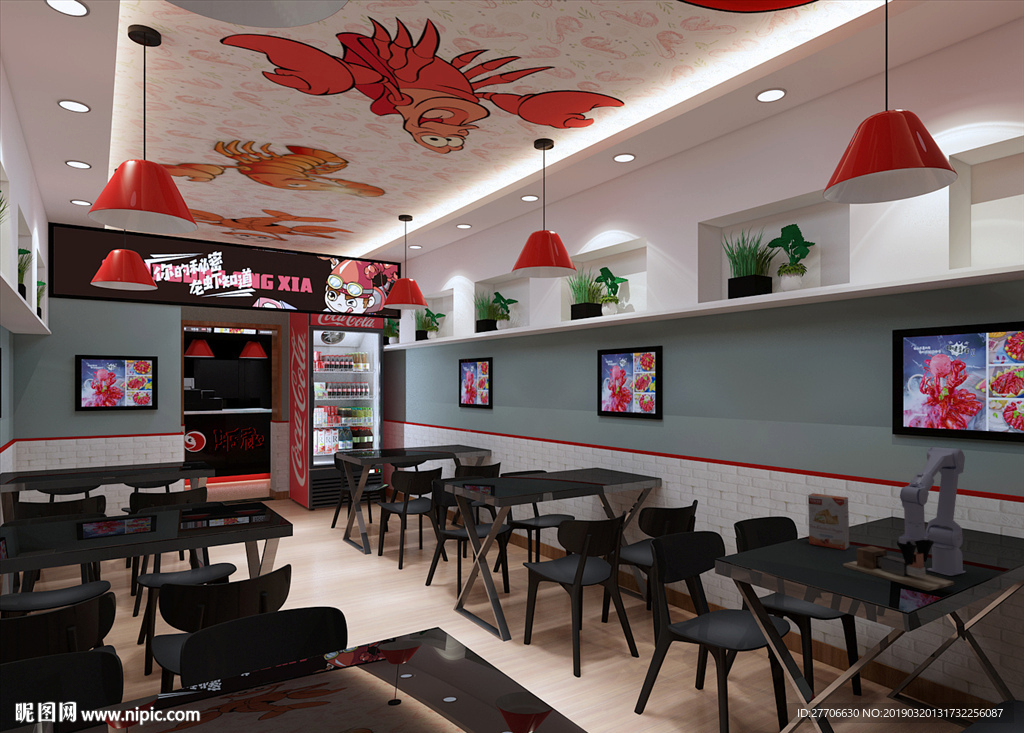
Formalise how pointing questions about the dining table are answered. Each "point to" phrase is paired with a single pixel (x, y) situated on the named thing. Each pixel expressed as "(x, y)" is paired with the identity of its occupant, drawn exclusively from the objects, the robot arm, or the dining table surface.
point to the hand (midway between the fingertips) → (915, 562)
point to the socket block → (869, 556)
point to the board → (904, 578)
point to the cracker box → (828, 521)
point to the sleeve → (893, 565)
